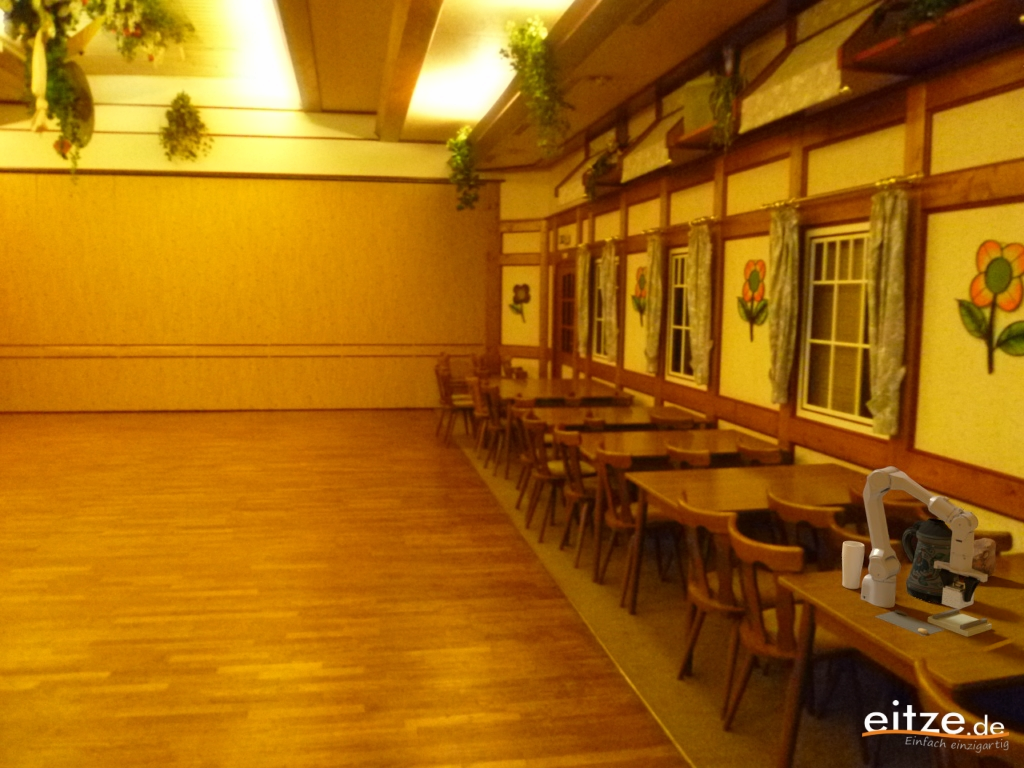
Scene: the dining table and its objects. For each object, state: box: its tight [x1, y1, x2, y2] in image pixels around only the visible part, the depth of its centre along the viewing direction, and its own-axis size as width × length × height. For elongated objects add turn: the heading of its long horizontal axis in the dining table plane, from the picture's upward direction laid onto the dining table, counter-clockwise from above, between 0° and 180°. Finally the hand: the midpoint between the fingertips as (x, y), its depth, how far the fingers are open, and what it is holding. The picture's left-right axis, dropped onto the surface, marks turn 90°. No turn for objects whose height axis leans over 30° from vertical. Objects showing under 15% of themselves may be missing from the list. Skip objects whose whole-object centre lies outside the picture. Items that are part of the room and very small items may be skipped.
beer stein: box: [902, 517, 960, 605], centre depth 265 cm, size 16×19×25 cm
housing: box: [941, 581, 975, 610], centre depth 237 cm, size 8×5×6 cm, turn 124°
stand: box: [927, 608, 993, 638], centre depth 238 cm, size 12×12×4 cm
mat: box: [874, 609, 945, 637], centre depth 239 cm, size 16×10×2 cm, turn 30°
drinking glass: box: [841, 540, 865, 590], centre depth 271 cm, size 7×7×15 cm
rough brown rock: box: [958, 537, 997, 579], centre depth 286 cm, size 23×17×15 cm
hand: (957, 598), depth 237 cm, fingers closed on housing, 5 cm apart
